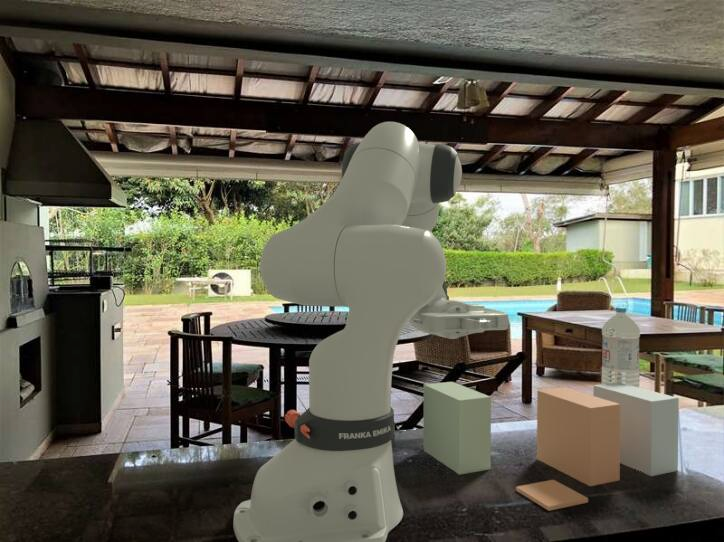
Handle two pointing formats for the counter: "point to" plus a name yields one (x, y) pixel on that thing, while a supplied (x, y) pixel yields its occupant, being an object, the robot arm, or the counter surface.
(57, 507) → the counter surface
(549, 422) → the terracotta block
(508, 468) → the counter surface
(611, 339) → the water bottle
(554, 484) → the tile
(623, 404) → the blue-grey block
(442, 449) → the sage block
